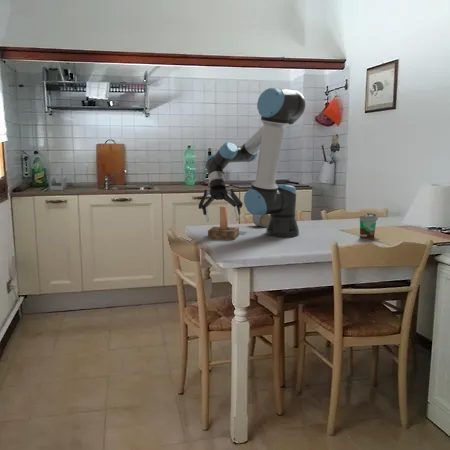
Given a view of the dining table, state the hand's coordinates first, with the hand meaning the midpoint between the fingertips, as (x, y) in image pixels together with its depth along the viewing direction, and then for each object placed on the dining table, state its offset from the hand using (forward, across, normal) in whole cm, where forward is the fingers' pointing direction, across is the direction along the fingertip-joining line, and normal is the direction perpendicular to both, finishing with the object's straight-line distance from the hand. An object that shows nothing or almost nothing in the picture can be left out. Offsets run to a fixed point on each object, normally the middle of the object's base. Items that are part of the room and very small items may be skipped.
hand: (222, 219), depth 212 cm
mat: (0, -7, -12) cm, 14 cm away
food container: (+15, -65, +3) cm, 67 cm away
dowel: (+6, 0, -5) cm, 8 cm away
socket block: (+6, 0, -5) cm, 8 cm away
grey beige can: (-11, -26, -23) cm, 36 cm away
